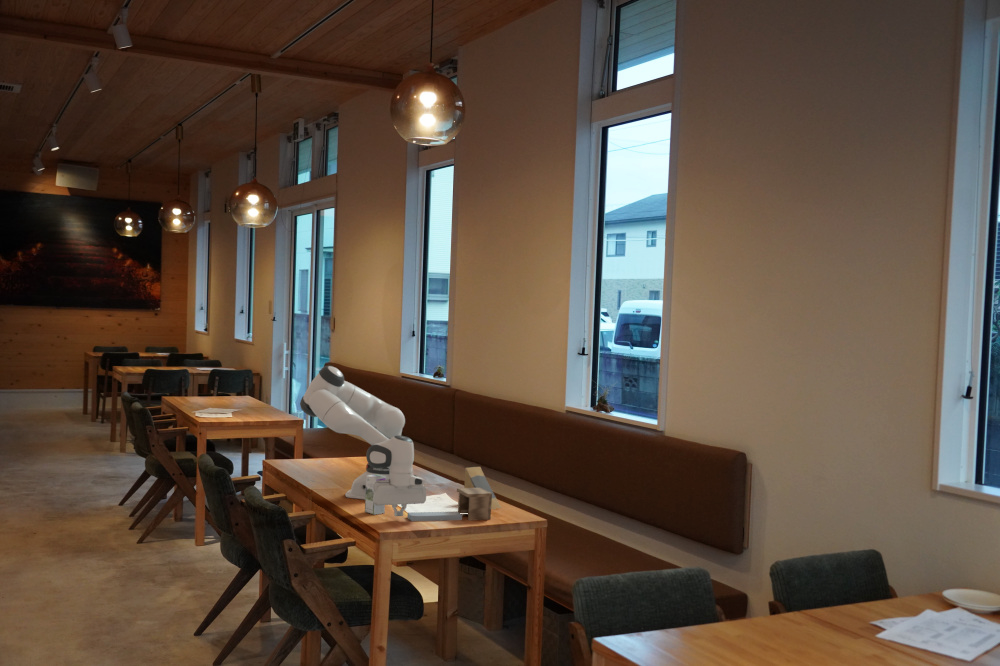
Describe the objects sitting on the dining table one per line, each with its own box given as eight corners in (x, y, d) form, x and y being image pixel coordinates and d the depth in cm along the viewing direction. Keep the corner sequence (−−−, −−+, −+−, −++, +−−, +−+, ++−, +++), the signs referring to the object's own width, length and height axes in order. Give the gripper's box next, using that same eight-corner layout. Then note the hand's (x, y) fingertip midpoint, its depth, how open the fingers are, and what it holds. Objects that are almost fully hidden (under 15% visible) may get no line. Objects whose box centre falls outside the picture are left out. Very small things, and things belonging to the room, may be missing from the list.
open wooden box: (466, 520, 333) (468, 494, 333) (455, 514, 343) (456, 488, 343) (490, 519, 337) (492, 493, 337) (478, 512, 347) (480, 487, 347)
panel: (411, 522, 327) (411, 516, 327) (407, 518, 332) (407, 512, 332) (461, 521, 334) (462, 514, 334) (456, 517, 339) (457, 511, 339)
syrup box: (385, 513, 337) (387, 476, 337) (373, 515, 332) (375, 477, 332) (375, 510, 341) (377, 473, 340) (363, 512, 336) (366, 475, 336)
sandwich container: (487, 510, 354) (489, 473, 354) (462, 503, 365) (464, 467, 365) (502, 508, 360) (504, 472, 359) (478, 501, 371) (480, 466, 371)
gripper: (376, 481, 319) (374, 519, 319) (428, 480, 328) (426, 516, 328) (371, 478, 325) (369, 515, 325) (422, 477, 334) (420, 512, 334)
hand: (398, 515), depth 326 cm, fingers closed
